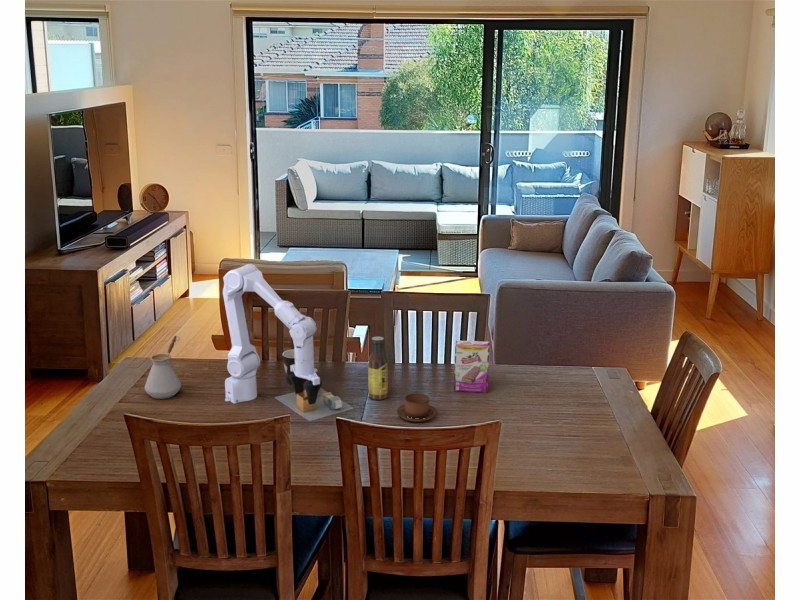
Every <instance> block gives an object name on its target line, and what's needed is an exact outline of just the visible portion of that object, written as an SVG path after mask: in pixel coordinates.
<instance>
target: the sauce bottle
mask: <svg viewBox="0 0 800 600" xmlns="http://www.w3.org/2000/svg"><path fill="white" fill-rule="evenodd" d="M388 363H389V361H388V358H387V356H386V353H385V338H384V337H382V336H379V335H378V336H373V337H371V353H370V354H369V356H368V366H367V369H368V371H367V373H368V374H367V375H368V377H367V378H368V381H367V382H368V385H367V387H368V397H369V398H370V399H371V400H374V401H375V400H377V401H380V400H384V399H386V398H387V397H388V392H389V387H388V386H389V385H388V384H389V381H388V379H389V376H388V375H389V370H388V369H389V366H388V365H389V364H388Z"/></svg>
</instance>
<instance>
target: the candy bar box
mask: <svg viewBox="0 0 800 600" xmlns="http://www.w3.org/2000/svg"><path fill="white" fill-rule="evenodd" d="M490 348H491V347H490V341H482V340H481V341H480V340H458V339H457V340H456V339H455V347H454V371H453V372H454V374H453V391H454V392H461V393H462V392H465V393H481V394H482V393H483V394H484V393H485V394H487V393H488V391H489V388H488V387H489V370H490V369H489V368H490V364H489V363H490Z"/></svg>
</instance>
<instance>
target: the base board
mask: <svg viewBox="0 0 800 600" xmlns="http://www.w3.org/2000/svg"><path fill="white" fill-rule="evenodd" d="M305 391H306V390H305V388H304V392H305ZM325 393H328V391H327V390H325V389H324V388H322V387H321V395H317V399H316V403H315V410H313V411H309V412H306V413H303V412H301V411H300V410H298V409H297V396H296V394H295V391H294V392H291V393H286V394H283V395H278V396H274V399H276V400H277V401H279V402H280V403H282V404H283V405H284V406H286V407H287V408H289V409H290V410H292V411H293V412H295V414H298V415H299V416H301V418H304V419H306V420H307V421H308V422H311V421H314V420H315V421H316V420H318V419H322V418H326V417H329V416H333V415H336V414H339V413H344V412H346V411H350V410H351V411H352V410H353V409H355V407H354V406H351V405H350V404H348V403H346V402H345V401H343V400H341V401H342V407H341V408H340V409H336V410H333V411H331V410H330V409H328V404H327V403H323V398H322V394H325Z"/></svg>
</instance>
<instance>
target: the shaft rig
mask: <svg viewBox="0 0 800 600" xmlns="http://www.w3.org/2000/svg"><path fill="white" fill-rule="evenodd" d="M321 388H322V386H321V387H320V389H319V392H318V395H321ZM327 392H328V391H327ZM322 398H323V403H327V404H328V409H330V410H331V411H333V410H336V409H340V408H341V407H342V401H343V400H341V397H339V396H338V395H336V396H335V395H333V394H332V392H331V391H329V392H328V393H325V394H322Z"/></svg>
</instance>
